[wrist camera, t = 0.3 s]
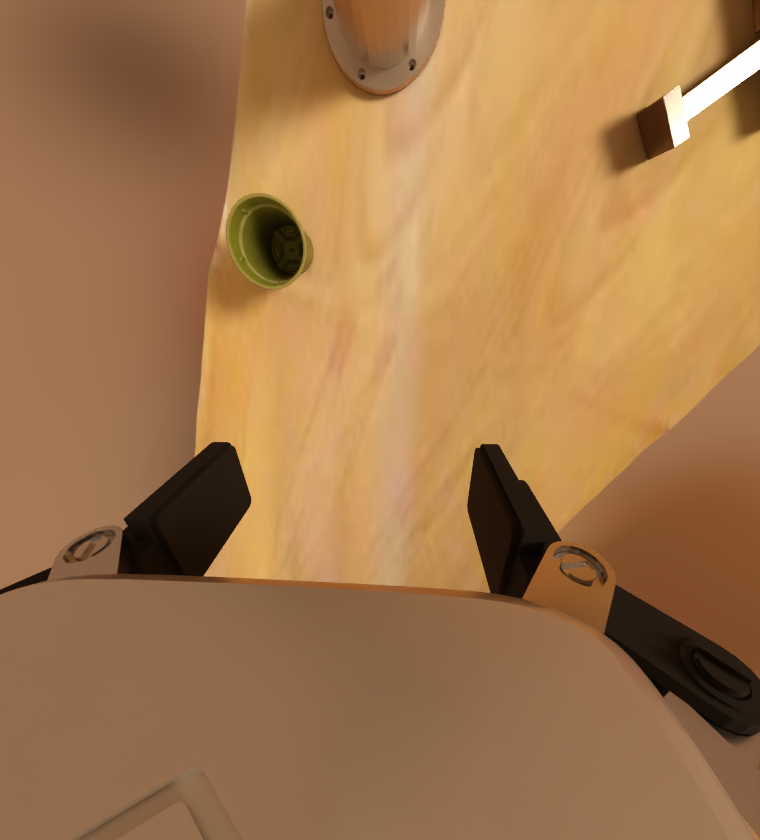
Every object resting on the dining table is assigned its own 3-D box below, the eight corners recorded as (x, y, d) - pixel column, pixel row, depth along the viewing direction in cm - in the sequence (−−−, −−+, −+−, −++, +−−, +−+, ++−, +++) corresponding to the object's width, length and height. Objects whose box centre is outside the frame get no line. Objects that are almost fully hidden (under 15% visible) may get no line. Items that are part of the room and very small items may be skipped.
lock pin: (636, 115, 31) (663, 96, 28) (763, 19, 28) (810, -15, 24) (648, 160, 33) (674, 147, 30) (769, 74, 29) (814, 49, 26)
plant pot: (267, 288, 42) (237, 290, 35) (252, 212, 38) (214, 195, 30) (328, 286, 42) (311, 287, 34) (319, 207, 37) (298, 189, 30)
